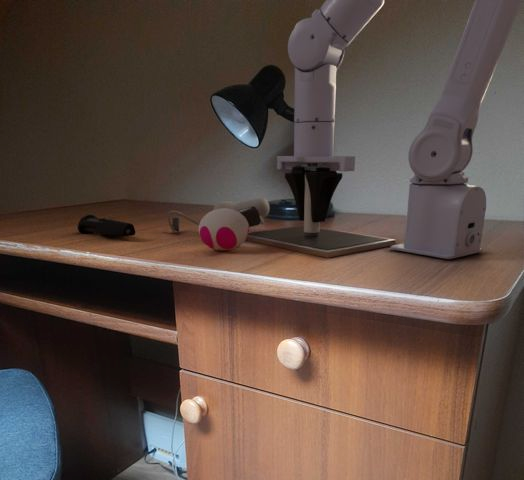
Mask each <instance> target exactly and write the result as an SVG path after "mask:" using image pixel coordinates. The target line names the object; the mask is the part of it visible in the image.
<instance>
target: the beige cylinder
mask: <svg viewBox="0 0 524 480" xmlns="http://www.w3.org/2000/svg"><path fill="white" fill-rule="evenodd" d="M303 226H304V232H305V236H307V237H316V236H319V232H320V228H321V222H317V223H315V222H312V217H311V197H310V190H309V186H308V182H307V179H306V176H305V200H304V221H303Z"/></svg>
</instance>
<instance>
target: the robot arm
mask: <svg viewBox="0 0 524 480" xmlns="http://www.w3.org/2000/svg"><path fill="white" fill-rule="evenodd" d="M522 1H523V0H474V1H473V4H472V7H471V10H470V13H469V15H468V19H467V22H466V24H465V26H464V30H463V32H462V35H461V38H460V41H459V44H458V46H457V49H456V52H455V55H454V58H453V60H452V64H451V67H450V69H449V72H448V75H447V78H446V81H445V82H444V83H445V84H444V86H443V89H442V91H441V94H440V97H439V98H438V100H437V101H436V103H435V104H434V106H433V107H432V109H431V111H430V112H429V115H428V118H427V121H426V123H425V125H424V127H423V128H422V130H421V131H420V132H419V133H418V134H417V135H416V136H415V137H414V138H413V140H412V142H411V145H410V146H409V149H408V157H407V158H408V164H409V167H410V169H411V171H412V172H413V174H414V175H413V177H412V178H409V189H408V197H407V198H408V199H407V211H406V219H405V220H406V221H405V232H404V242H403V243H398V244H395V245H393V246H389V247H390V248H389V249H390V250H393V251H399V252H404V253H411V254H415V255H421V256H426V257H433V258H438V259H443V260H453V259H457V258H461V257H466V256H470V255H474V254H478V253H481V252H483V250H484V249H483V248H482V247H481V245H482V237H483V232H484V231H483V230H484V223H485V217H486V211H487V195H486V192H485V190H484V189H483V188H482V187H481V186H479V185H471V184H468V183H469V177H468V176H467V175H466V174H465V172H464V170H465V169H466V168H467V167H468V165H469V164H470V163H471V160H472V157H473V153H474V148H473V137H474V133H475V130H476V127H477V124H478V122H479V121H478V120H479V114H480V109H481V106H482V103H483V100H484V98H485V96H486V93H487V91H488V88H489V85H490V83H491V81H492V78H493V75H494V74H495V70H496V68H497V65H498V62H499V60H500V58H501V55H502V52H503V50H504V47H505V45H506V42H507V40H508V37H509V34H510V32H511V29H512V27H513V25H514V22H515V19H516V17H517V15H518V11H519V9H520V7H521V4H522ZM384 4H385V0H325V1H324V2H323V3H322V5H321V6H320V7H319V8H318V9H317V8H315V10H314V11H313V12H312V13H311V17H307V18H306V17H305V18H303V19H301V20H299V21H298V22H297V23H295V25H294V28H293V29H292V31H291V33H290V35H289V38H288V42H287V54H288V58H289V60H290V62H291V63H292V65H293V66H294V99H293V100H294V101H293V102H294V105H293V107H294V109H293V110H294V111H293V113H294V114H293V115H294V116H293V123H294V124H293V155H278V156H276V170H291V171H290V172H285V173H284V179H285V180H286V182H287V184H288V186H289V188H290V190H291V192H292V196H293V198H294V202H295V206H296V210H297V214H298V219H299V221H302V222H304V200H305V176H306V179H307V182H308V186H309V190H310V197H311V217H312V222H315V223H317V222H320V223H323V222H326V219H327V215H328V212H329V208H330V205H331V202H332V198H333V196H334V194H335V191H336V189H337V187H338V186H339V184H340V182H341V181H342V179H343V172H345V173H346V172H355V169H356V156H355V155H334V149H335V147H334V146H335V121H336V97H337V95H336V93H337V71H338V69H339V68H340V67H341V64H342V62H343V60H344V58H345V52H346V50H345V48H346V47H349V45H351V43H352V42H353V41H354V40H355V38H356V37H357V36H358V35H359V34H360V32H361V31H362V30H363V29H364V28H365V27H366V25H367V24H368V23H369V22H370V21H371V20H372V18H373V17H374V16H375V15H376V14H377V13H378V12H379V11H380V9H381V8H382V7H383V6H384ZM311 163H313V164H314V163H315V164H316V163H317V164H318V166H317V165H315V166H313V165H309V164H311Z"/></svg>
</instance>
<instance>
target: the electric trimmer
mask: <svg viewBox="0 0 524 480" xmlns="http://www.w3.org/2000/svg"><path fill="white" fill-rule="evenodd" d="M77 231H78V233H80V234H85V233H95V234H100V235H101V236H102V237H106V238H125V237H130V236H135V235H136V229H135V226H134V224H133V223H130V222H125V221H119V220H115V219H108V218H98V217H97V216H95V215H93V214H87V215H85V216H82V217H81V218H80V220H79V222H78V224H77Z"/></svg>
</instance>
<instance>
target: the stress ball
mask: <svg viewBox="0 0 524 480" xmlns="http://www.w3.org/2000/svg"><path fill="white" fill-rule="evenodd" d="M197 222H199V223H200V224H199V225H198V228H197V229H198V231H197V232H198V237H199V239H200V240H201V241H202V242H203V244H204V245H205V246H207V247H208V248H210V249H212V250H215V251H212V252H210V254H213V253H216V252H219V251H222V252H226V251H232V250H234V249H237V248H239V247H240V246H242V245H243V244H244V243H245V241H247V240H246V239H247V237H248V234H249V233H250V227H249V224H248V222H247V220H246V218H245V217H244V216H243V215H242V214H241V213H239V212H237V211H235V210H232V209H227V208H221V209H216V210H214V209H213V210H211V211H209V212H207V213H206V214H204V216H203V217H202V218H201V220H198V219H197Z"/></svg>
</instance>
